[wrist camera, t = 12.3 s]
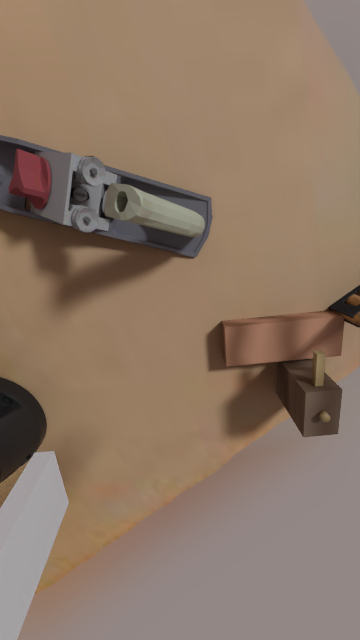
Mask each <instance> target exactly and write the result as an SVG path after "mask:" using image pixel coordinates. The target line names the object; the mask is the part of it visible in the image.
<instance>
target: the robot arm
mask: <svg viewBox="0 0 360 640" xmlns="http://www.w3.org/2000/svg"><path fill="white" fill-rule="evenodd" d="M45 434H46V418H45V414H44V412H43V409H42V407H41V406H40V404H39V403H38V401H37V400H36V399H35V398H34V397H33V396H32V394H30V393H29V392H28V391H27V390H26V389H24V388H23V387H21V386H20V385H18V384H16V383H14V382H12V381H10V380H7V379H4V378H0V483H1V482H3V481H4V480H5V479H6V478H7V477H9V476H10V475H11V474H12V473H14V472H15V471H16V470H17V469H18V468H19V467H20V466H22V465H23V464H25V463H26V462H27V461H28V460H29V459H30V458H31V457H32V458H31V459H30V461H29V463H28V464H27V466H26V467H25V469H24V471H23V472H22V474H21V476H20V477H19V479H18V480H17V482H16V484H15V485H14V487H13V489H12V490H11V492H10V493H9V495H8V497H7V498H6V500H5V502H4V503H3V505H2V506H1V508H0V640H17V638H18V635H19V633H20V630H21V627H22V625H23V622H24V620H25V617H26V614H27V612H28V609H29V606H30V604H31V601H32V598H33V596H34V593H35V590H36V588H37V585H38V583H39V580H40V577H41V575H42V572H43V569H44V567H45V564H46V561H47V559H48V556H49V554H50V551H51V548H52V546H53V543H54V540H55V538H56V535H57V532H58V530H59V527H60V524H61V522H62V519H63V517H64V514H65V511H66V509H67V506H68V503H69V502H68V499H67V495H66V492H65V488H64V484H63V481H62V477H61V474H60V470H59V467H58V463H57V460H56V456H55V453H54V451H49V452H37V453H35V452H36V451H37V449H38V448H39V446H40V445H41V443H42V441H43V439H44V437H45Z"/></svg>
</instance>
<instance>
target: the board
mask: <svg viewBox="0 0 360 640" xmlns="http://www.w3.org/2000/svg"><path fill="white" fill-rule="evenodd" d="M221 322H222V340H223V358H224V361H225V364H226V366H227V367H228V366H238V365H248V364H259V363H269V362H280V361H290V360H300V359H311V358H313V351H318V350H322V351H323V352H324V353H325V354H326V355H325V357H332V356H341V349H342V339H343V329H344V317H343V316H342V315H340V314H338V313H336V312H334V310H330V311H320V312H310V313H299V314H289V315H279V316H269V317H259V318H249V319H239V320H228V321H221Z"/></svg>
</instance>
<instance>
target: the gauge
mask: <svg viewBox="0 0 360 640" xmlns="http://www.w3.org/2000/svg"><path fill="white" fill-rule="evenodd" d="M325 355H326V354H325V353H324V352H323V351H322V350H318V351H313V361H312V360H311V359H300V360H290V361H280V362H277V395H278V396H279V398H280V400H281V401H282V403H283V405H284V406H285V408H286V410H287V411H288V413H289V414H290V416H291V418H292V419H293V421H294V423H295V424H296V426H297V427H298V429H299V431H300V432H301V434H302V436H303V437H310V436H321V435H332V434H338V427H339V418H340V408H341V398H342V389H341V388H340V387H339V386H338V385H337V384H336V383H335V382H334V381H333V380H332V379H331V378H330V377H329V376H328V375H327V374H326V373H325V372H324V369H325Z"/></svg>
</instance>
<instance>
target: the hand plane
mask: <svg viewBox="0 0 360 640" xmlns="http://www.w3.org/2000/svg"><path fill="white" fill-rule="evenodd" d="M29 152H33V153H35V155H34V154H32V153H29ZM26 198H29V200H30V201H31V208H30V211H29V210H25V204H26ZM0 209H2V210H5V211H8V212H12V213H15V214H19V215H24V216H28V217H32V218H36V219H40V220H44V221H48V222H52V223H56V224H60V225H64V226H68V227H72V228H75V229H77V230H79V231H81V232H84V233H87V232H89V233H90V232H93V233H97V234H101V235H105V236H109V237H113V238H117V239H121V240H125V241H129V242H133V243H137V244H142V245H146V246H150V247H154V248H158V249H162V250H166V251H170V252H174V253H178V254H182V255H186V256H190V257H196V256H197V255H198V253H199V251H200V249H201V248H202V246H203V244H204V243H205V241H206V239H207V237H208V234H209V230H210V225H211V221H212V209H211V198H210V197H207V196H203V195H200V194H197V193H194V192H190V191H187V190H184V189H180V188H177V187H174V186H171V185H167V184H164V183H161V182H157V181H154V180H151V179H148V178H144V177H141V176H138V175H134V174H131V173H128V172H125V171H121V170H118V169H115V168H111V167H108V166H105V165H103V163H102V161H101V160H100V159H98V158H97V157H94V156H89V157H87V156H85V157H84V156H82V157H80V156H78V155H75V154H73V153H62V152H59V151H56V150H52V149H49V148H46V147H43V146H39V145H36V144H33V143H29V142H26V141H23V140H20V139H16V138H11V137H6V136H1V135H0Z"/></svg>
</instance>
